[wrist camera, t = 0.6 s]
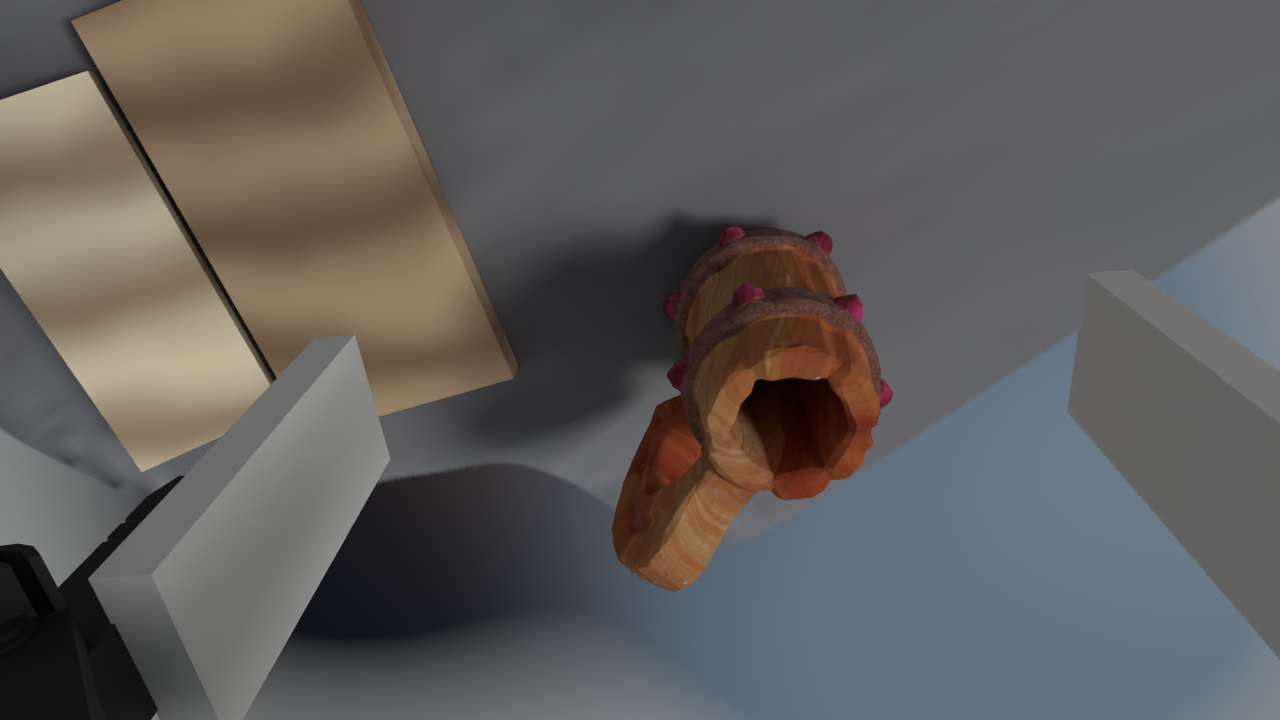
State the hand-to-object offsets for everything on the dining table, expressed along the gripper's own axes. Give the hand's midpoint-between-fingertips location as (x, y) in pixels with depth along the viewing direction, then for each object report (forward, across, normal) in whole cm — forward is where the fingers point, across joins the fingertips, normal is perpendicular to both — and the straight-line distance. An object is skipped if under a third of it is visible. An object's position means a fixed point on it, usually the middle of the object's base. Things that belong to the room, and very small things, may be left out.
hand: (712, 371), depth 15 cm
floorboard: (+26, -18, -2) cm, 32 cm away
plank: (+24, -29, -5) cm, 38 cm away
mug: (+26, +1, -10) cm, 28 cm away
